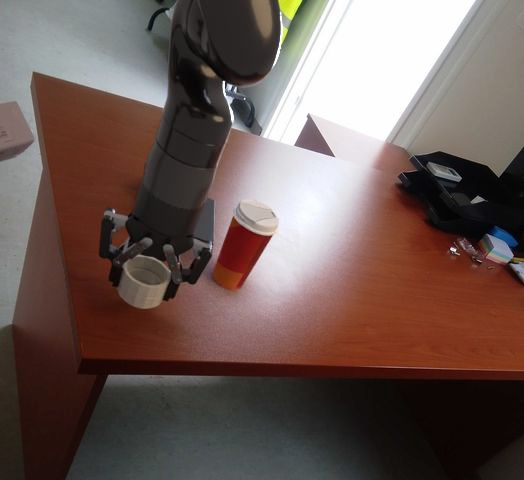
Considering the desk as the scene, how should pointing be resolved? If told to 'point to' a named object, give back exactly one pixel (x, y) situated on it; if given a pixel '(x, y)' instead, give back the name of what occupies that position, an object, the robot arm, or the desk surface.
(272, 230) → the paper cup
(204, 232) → the scale
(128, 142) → the desk surface
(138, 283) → the bowl
